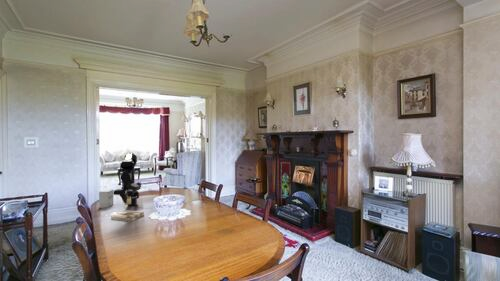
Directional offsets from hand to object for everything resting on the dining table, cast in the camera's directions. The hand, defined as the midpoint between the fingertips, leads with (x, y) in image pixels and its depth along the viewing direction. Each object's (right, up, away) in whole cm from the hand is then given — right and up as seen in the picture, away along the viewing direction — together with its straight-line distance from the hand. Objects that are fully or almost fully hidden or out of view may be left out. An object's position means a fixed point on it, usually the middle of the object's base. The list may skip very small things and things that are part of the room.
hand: (127, 202), depth 166 cm
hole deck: (0, -10, 0) cm, 10 cm away
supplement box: (-31, -11, +28) cm, 43 cm away
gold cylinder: (0, -1, 0) cm, 1 cm away
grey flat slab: (-13, -11, +6) cm, 17 cm away
